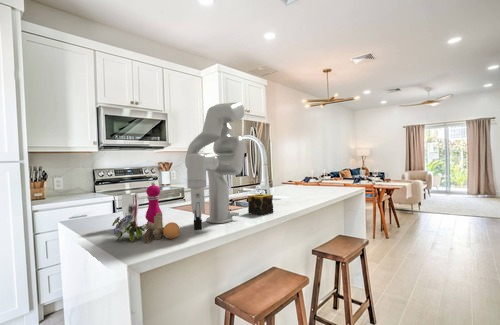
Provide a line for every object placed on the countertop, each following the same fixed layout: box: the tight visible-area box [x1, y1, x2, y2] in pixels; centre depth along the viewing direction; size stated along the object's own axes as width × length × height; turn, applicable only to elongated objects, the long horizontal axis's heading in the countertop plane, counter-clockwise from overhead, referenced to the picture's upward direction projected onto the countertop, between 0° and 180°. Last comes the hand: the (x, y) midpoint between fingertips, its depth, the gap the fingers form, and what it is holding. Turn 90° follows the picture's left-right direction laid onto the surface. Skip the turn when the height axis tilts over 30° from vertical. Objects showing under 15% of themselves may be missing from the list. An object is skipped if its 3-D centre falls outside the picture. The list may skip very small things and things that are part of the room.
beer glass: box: [120, 192, 140, 228], centre depth 117 cm, size 7×7×15 cm
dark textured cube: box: [247, 193, 274, 216], centre depth 143 cm, size 10×10×10 cm
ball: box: [163, 222, 181, 240], centre depth 99 cm, size 6×6×6 cm
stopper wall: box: [143, 229, 155, 244], centre depth 101 cm, size 2×15×3 cm, turn 14°
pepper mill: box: [145, 181, 163, 225], centre depth 120 cm, size 7×7×20 cm
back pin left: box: [153, 216, 162, 241], centre depth 99 cm, size 2×2×8 cm
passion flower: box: [111, 212, 148, 243], centre depth 100 cm, size 11×11×12 cm
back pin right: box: [156, 212, 164, 236], centre depth 105 cm, size 2×2×8 cm
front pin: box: [147, 222, 165, 236], centre depth 102 cm, size 2×2×8 cm
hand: (197, 229), depth 105 cm, fingers closed
